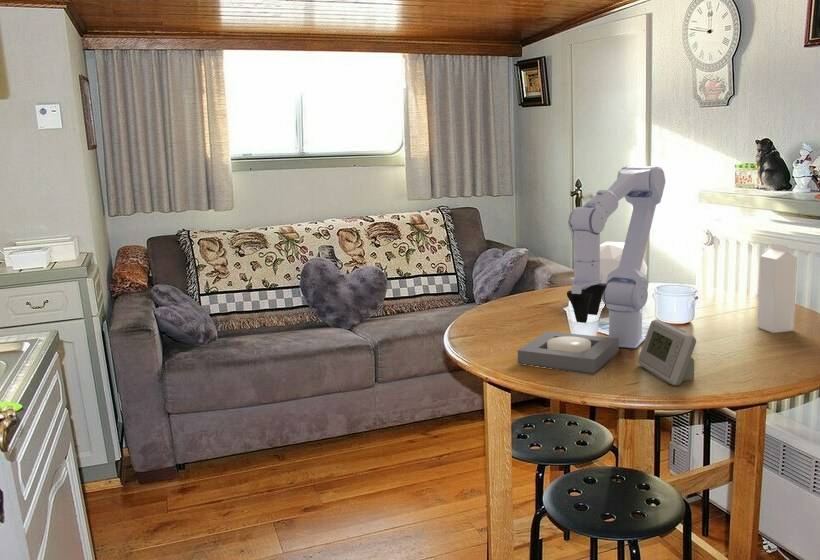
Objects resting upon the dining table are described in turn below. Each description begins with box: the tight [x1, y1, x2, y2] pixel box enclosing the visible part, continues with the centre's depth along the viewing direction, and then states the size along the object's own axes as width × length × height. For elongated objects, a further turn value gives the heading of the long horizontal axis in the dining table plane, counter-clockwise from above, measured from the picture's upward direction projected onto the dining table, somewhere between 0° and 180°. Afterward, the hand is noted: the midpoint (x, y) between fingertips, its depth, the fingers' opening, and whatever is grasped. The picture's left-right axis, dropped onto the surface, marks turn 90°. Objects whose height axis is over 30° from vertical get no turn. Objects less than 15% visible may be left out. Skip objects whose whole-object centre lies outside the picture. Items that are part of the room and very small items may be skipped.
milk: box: [757, 242, 798, 334], centre depth 183 cm, size 6×6×22 cm
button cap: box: [547, 336, 591, 353], centre depth 169 cm, size 10×10×3 cm
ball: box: [600, 241, 648, 299], centre depth 220 cm, size 19×20×20 cm
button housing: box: [517, 330, 620, 376], centre depth 169 cm, size 18×18×4 cm
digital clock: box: [637, 319, 697, 387], centre depth 154 cm, size 16×9×11 cm, turn 178°
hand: (587, 318), depth 166 cm, fingers open, 7 cm apart
